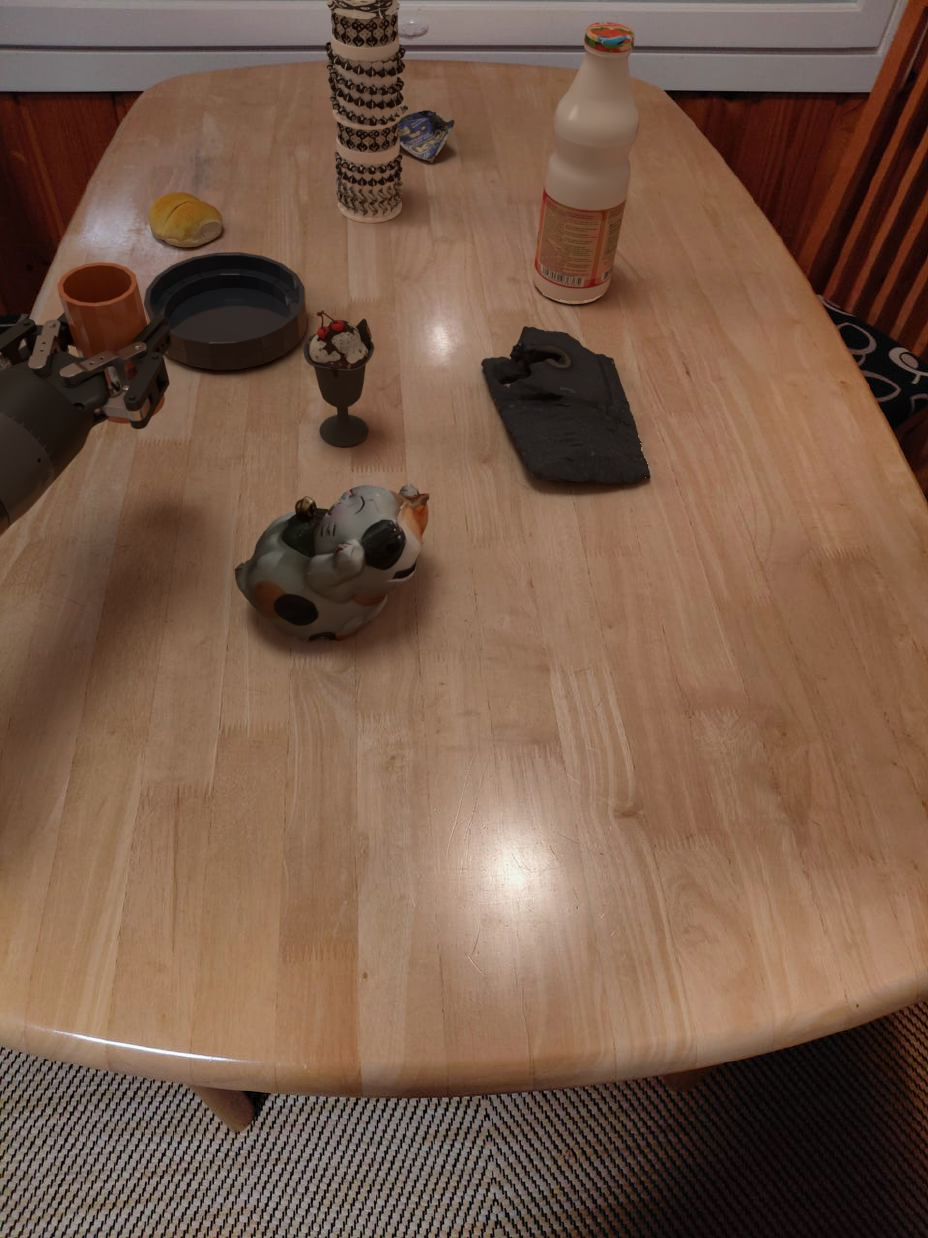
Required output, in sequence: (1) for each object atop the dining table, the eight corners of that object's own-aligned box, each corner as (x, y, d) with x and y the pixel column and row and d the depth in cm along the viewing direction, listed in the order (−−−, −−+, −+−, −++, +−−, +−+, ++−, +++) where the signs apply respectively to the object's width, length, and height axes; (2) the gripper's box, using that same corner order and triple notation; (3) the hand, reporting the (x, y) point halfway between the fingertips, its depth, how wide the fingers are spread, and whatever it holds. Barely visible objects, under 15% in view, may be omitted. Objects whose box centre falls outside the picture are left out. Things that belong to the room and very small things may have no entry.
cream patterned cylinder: (393, 230, 119) (391, 10, 100) (324, 216, 121) (309, -4, 101) (413, 195, 125) (416, -19, 105) (348, 183, 126) (338, -32, 106)
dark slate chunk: (507, 497, 91) (511, 461, 87) (477, 358, 104) (480, 321, 100) (658, 489, 93) (669, 453, 89) (610, 353, 106) (618, 317, 102)
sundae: (304, 448, 93) (290, 319, 82) (319, 406, 98) (308, 276, 86) (368, 457, 93) (364, 328, 81) (381, 414, 97) (379, 285, 85)
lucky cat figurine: (307, 511, 88) (376, 408, 79) (400, 598, 88) (479, 505, 79) (205, 582, 76) (272, 472, 68) (312, 682, 77) (393, 585, 68)
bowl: (207, 395, 98) (201, 363, 95) (122, 318, 105) (114, 286, 102) (338, 334, 105) (336, 303, 102) (250, 266, 113) (246, 235, 110)
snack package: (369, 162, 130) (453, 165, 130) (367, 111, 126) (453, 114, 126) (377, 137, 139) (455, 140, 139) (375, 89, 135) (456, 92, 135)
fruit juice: (548, 311, 110) (584, 53, 88) (521, 268, 116) (549, 14, 94) (620, 301, 112) (674, 46, 90) (591, 259, 118) (634, 9, 96)
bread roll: (187, 205, 120) (182, 174, 117) (234, 231, 117) (230, 201, 114) (135, 229, 116) (128, 198, 113) (182, 257, 113) (176, 226, 110)
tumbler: (117, 433, 75) (81, 314, 66) (82, 397, 77) (43, 278, 69) (178, 405, 78) (151, 287, 69) (142, 371, 80) (112, 253, 71)
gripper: (80, 436, 60) (203, 295, 70) (-113, 382, 62) (33, 253, 72) (108, 517, 66) (218, 377, 76) (-69, 466, 68) (61, 336, 78)
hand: (128, 317), depth 74 cm, fingers closed on tumbler, 5 cm apart
